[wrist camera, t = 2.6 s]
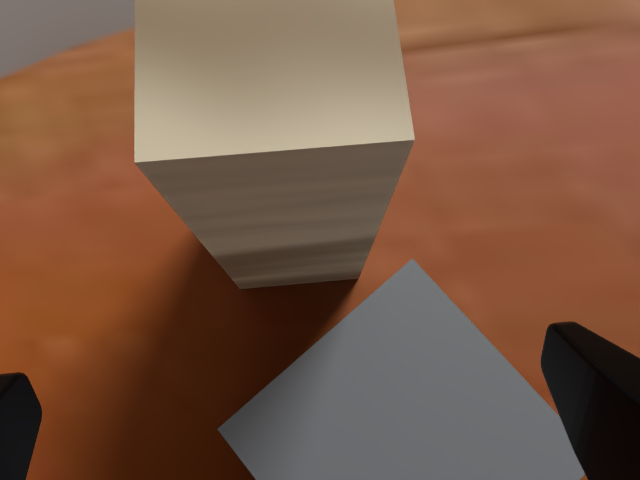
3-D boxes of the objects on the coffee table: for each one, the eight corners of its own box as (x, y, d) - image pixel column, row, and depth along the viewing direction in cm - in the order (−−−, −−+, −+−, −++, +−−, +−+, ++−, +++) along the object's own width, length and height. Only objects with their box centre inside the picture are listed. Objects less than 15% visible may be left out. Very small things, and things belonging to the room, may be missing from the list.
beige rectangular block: (358, 278, 22) (414, 139, 9) (239, 289, 22) (134, 162, 9) (346, 168, 23) (380, -83, 11) (234, 177, 23) (135, -66, 10)
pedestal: (387, 624, 19) (400, 669, 16) (231, 422, 20) (217, 428, 17) (558, 448, 20) (599, 459, 17) (399, 274, 22) (412, 258, 19)
